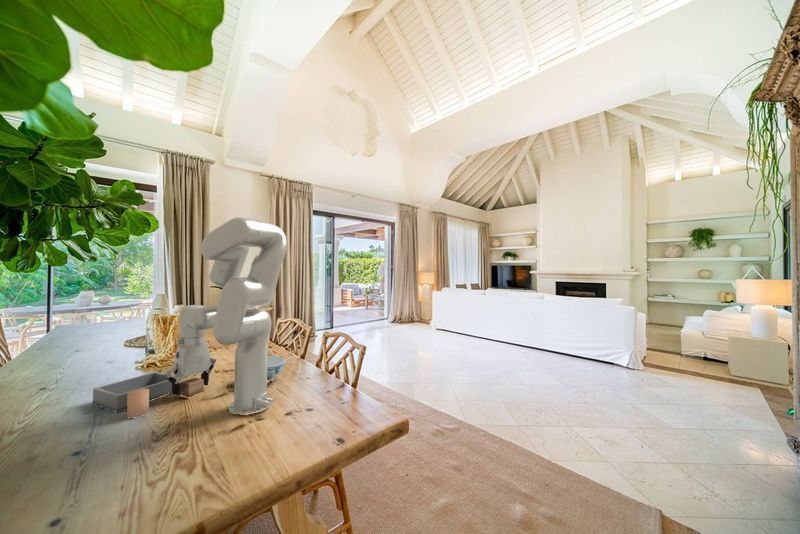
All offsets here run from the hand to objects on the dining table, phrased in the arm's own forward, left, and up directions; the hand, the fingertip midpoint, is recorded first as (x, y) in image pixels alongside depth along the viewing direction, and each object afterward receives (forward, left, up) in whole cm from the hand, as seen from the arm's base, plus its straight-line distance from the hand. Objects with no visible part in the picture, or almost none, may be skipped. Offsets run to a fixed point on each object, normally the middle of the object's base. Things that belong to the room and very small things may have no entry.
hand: (191, 389), depth 108 cm
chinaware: (-12, -21, -2) cm, 25 cm away
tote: (+14, +9, -2) cm, 16 cm away
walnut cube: (0, 0, -2) cm, 2 cm away
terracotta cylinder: (0, +16, -2) cm, 16 cm away
